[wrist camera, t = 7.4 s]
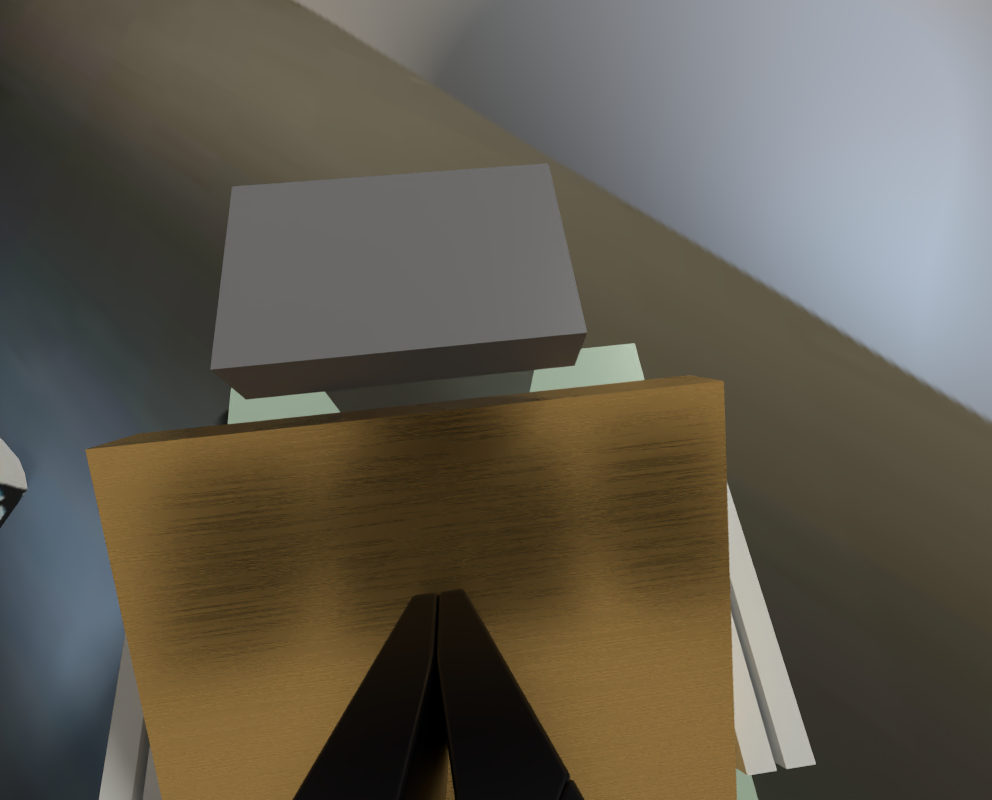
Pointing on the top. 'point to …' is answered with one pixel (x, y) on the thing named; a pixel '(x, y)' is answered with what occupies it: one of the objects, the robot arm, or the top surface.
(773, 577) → the top surface
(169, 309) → the top surface
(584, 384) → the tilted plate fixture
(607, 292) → the top surface
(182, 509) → the gold rectangular plate
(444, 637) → the robot arm
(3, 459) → the decorative butterfly
